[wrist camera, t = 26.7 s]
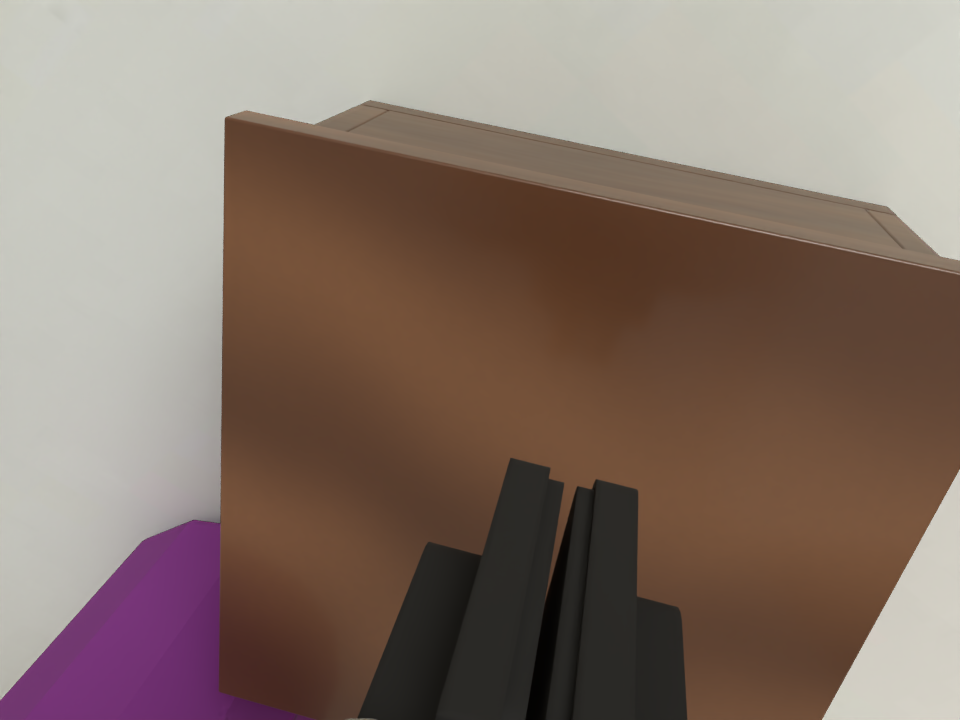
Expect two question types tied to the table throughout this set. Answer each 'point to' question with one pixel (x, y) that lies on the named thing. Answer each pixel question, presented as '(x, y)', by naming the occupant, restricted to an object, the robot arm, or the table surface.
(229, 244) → the lid
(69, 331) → the table surface
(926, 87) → the table surface
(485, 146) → the box
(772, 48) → the table surface
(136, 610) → the mug
